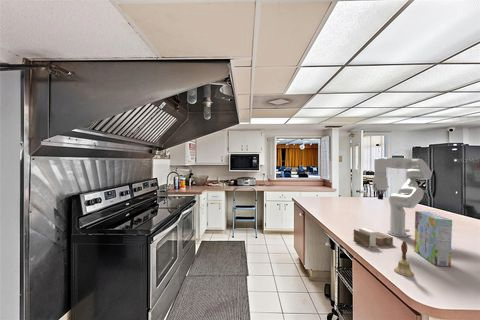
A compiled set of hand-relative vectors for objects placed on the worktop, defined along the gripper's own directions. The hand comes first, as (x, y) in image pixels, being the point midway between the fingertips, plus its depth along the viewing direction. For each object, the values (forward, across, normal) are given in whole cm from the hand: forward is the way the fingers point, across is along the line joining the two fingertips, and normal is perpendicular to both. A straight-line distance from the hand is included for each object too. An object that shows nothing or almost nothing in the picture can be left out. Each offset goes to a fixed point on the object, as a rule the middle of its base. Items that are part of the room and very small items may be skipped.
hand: (380, 199), depth 172 cm
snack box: (+29, +3, +37) cm, 47 cm away
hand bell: (+28, +35, +46) cm, 64 cm away
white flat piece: (+29, +8, -10) cm, 31 cm away
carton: (+23, +18, +8) cm, 30 cm away
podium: (+28, +15, +7) cm, 33 cm away
